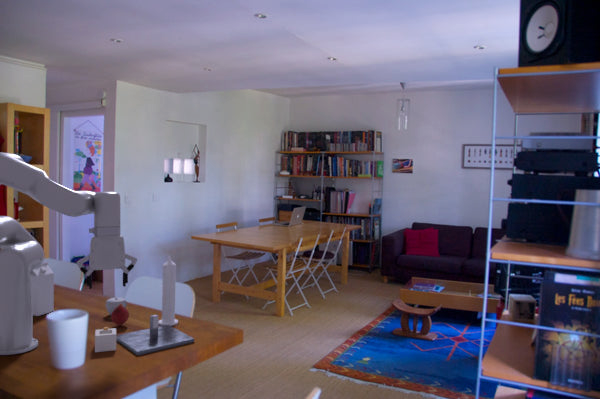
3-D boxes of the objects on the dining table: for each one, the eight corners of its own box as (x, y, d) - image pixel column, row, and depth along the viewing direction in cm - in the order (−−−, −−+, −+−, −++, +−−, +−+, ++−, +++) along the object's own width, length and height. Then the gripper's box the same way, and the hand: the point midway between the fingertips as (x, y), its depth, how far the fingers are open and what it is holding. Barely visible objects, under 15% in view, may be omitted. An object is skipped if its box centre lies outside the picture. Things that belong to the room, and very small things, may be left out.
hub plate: (137, 355, 140) (137, 328, 140) (114, 339, 154) (114, 314, 153) (194, 342, 153) (194, 317, 153) (168, 328, 166) (168, 305, 166)
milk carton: (23, 313, 177) (24, 263, 176) (40, 309, 184) (40, 261, 183) (37, 316, 174) (37, 265, 174) (53, 311, 181) (54, 262, 180)
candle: (182, 322, 174) (183, 255, 172) (169, 327, 167) (170, 257, 166) (167, 319, 177) (168, 253, 175) (153, 324, 170) (155, 255, 169)
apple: (112, 319, 174) (112, 301, 174) (100, 314, 179) (100, 297, 179) (131, 314, 181) (131, 297, 180) (119, 310, 185) (120, 294, 185)
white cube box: (94, 352, 142) (95, 334, 142) (95, 345, 148) (95, 327, 147) (116, 350, 144) (116, 332, 144) (115, 343, 150) (116, 326, 150)
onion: (122, 329, 163) (122, 306, 163) (107, 327, 165) (108, 305, 164) (131, 324, 169) (132, 302, 169) (117, 322, 170) (117, 301, 170)
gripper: (75, 234, 138) (76, 291, 139) (137, 232, 145) (137, 287, 145) (76, 231, 145) (77, 286, 146) (136, 229, 152) (136, 282, 152)
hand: (107, 286), depth 146 cm, fingers open, 9 cm apart
